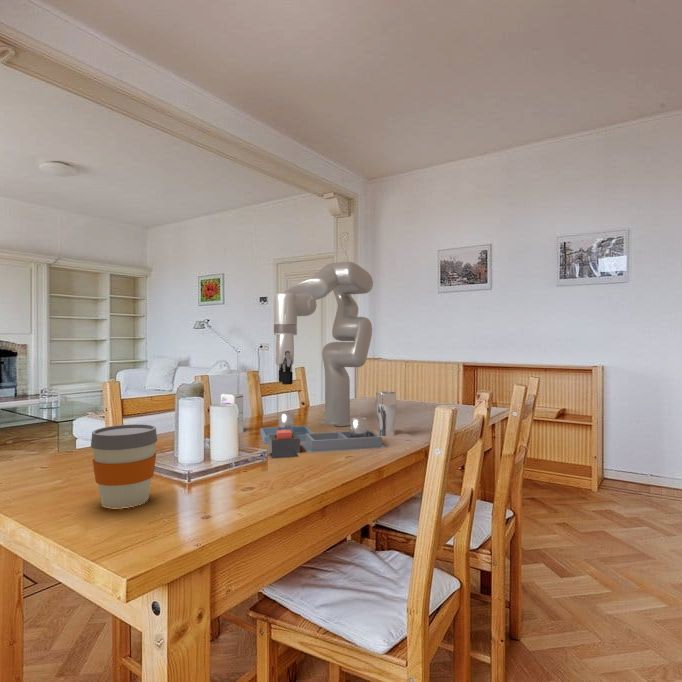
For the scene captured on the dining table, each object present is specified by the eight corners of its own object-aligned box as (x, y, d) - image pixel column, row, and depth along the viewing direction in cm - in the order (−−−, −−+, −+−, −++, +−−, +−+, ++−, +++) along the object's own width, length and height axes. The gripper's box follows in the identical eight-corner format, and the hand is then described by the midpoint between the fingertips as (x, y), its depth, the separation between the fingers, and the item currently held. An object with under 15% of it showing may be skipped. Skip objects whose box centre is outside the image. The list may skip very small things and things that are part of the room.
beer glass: (396, 435, 166) (396, 391, 166) (396, 439, 159) (396, 393, 159) (376, 434, 166) (375, 391, 166) (375, 439, 160) (375, 393, 159)
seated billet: (348, 442, 150) (348, 417, 150) (364, 441, 151) (364, 416, 151) (353, 446, 145) (352, 419, 145) (369, 445, 146) (368, 418, 146)
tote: (260, 436, 164) (260, 428, 164) (305, 434, 168) (305, 425, 168) (264, 447, 149) (264, 437, 149) (314, 444, 153) (314, 434, 153)
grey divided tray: (300, 446, 150) (300, 433, 150) (374, 441, 156) (374, 429, 156) (307, 456, 138) (307, 442, 137) (387, 450, 143) (387, 437, 143)
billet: (277, 436, 160) (277, 412, 160) (292, 435, 162) (292, 411, 162) (279, 439, 156) (279, 414, 155) (295, 438, 157) (294, 413, 157)
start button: (276, 440, 142) (276, 430, 142) (290, 439, 143) (290, 429, 143) (278, 443, 138) (277, 433, 138) (292, 442, 139) (291, 432, 139)
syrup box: (220, 437, 165) (219, 394, 164) (230, 433, 170) (229, 392, 170) (234, 438, 162) (233, 395, 162) (244, 434, 168) (243, 393, 168)
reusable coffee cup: (89, 516, 92) (88, 438, 92) (93, 496, 104) (92, 426, 104) (159, 507, 97) (158, 432, 97) (156, 489, 109) (155, 422, 109)
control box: (269, 451, 143) (268, 434, 143) (295, 449, 145) (295, 433, 145) (271, 458, 136) (271, 440, 136) (300, 456, 138) (300, 438, 137)
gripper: (271, 331, 166) (271, 381, 166) (276, 329, 149) (276, 385, 149) (293, 331, 167) (292, 380, 167) (301, 330, 151) (301, 385, 151)
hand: (285, 383), depth 158 cm, fingers open, 9 cm apart
